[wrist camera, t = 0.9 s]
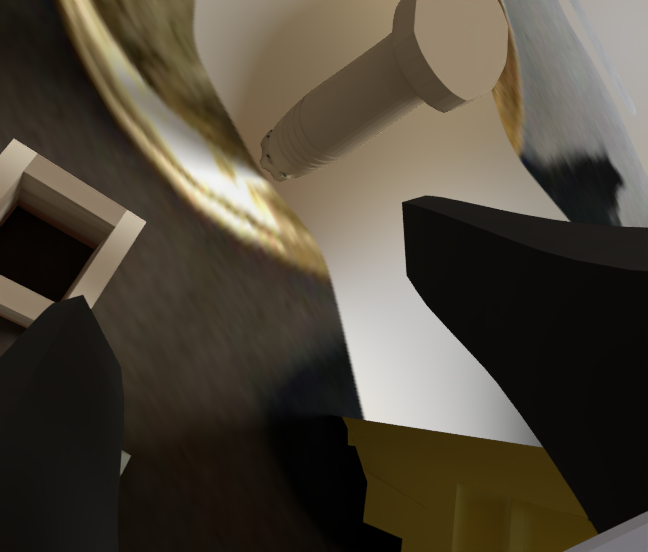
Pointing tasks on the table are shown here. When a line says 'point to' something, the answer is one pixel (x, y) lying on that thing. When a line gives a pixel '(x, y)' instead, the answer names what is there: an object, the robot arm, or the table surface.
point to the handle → (393, 83)
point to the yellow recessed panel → (465, 492)
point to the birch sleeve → (62, 226)
